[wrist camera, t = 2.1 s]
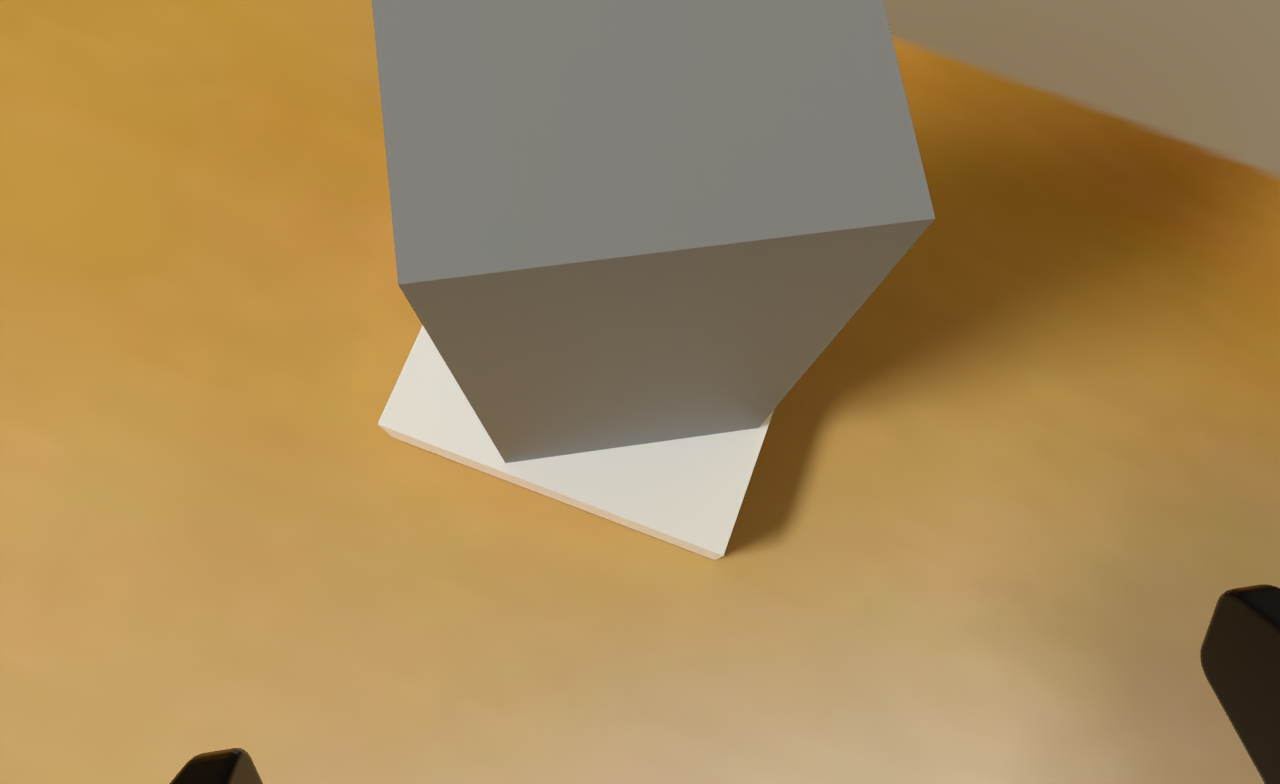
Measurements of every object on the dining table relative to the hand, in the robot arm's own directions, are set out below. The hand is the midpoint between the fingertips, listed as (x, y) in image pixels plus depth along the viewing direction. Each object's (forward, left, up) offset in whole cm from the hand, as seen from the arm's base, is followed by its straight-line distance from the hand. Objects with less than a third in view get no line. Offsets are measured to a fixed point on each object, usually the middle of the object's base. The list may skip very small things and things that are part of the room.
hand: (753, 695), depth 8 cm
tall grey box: (+5, -5, -11) cm, 13 cm away
